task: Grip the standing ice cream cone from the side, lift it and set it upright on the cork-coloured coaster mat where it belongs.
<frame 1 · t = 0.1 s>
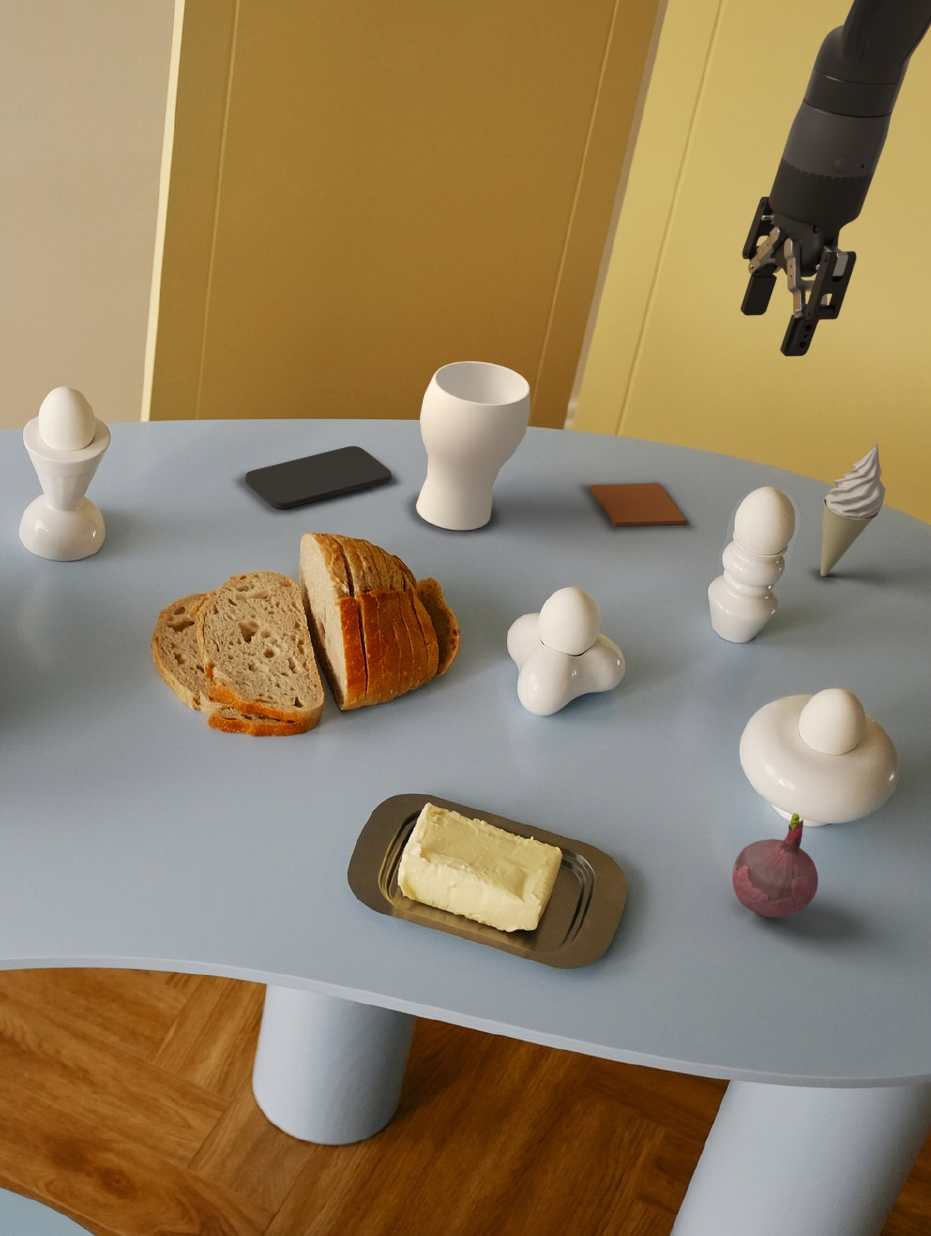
hand: (771, 333, 151), 25 cm above the table, tool pointing down, fingers open, 8 cm apart
vegetable: (758, 914, 129), on the table
cup: (452, 513, 175), on the table
cork mat: (636, 506, 176), on the table
ice cream cone: (822, 576, 166), on the table
phone: (317, 481, 179), on the table
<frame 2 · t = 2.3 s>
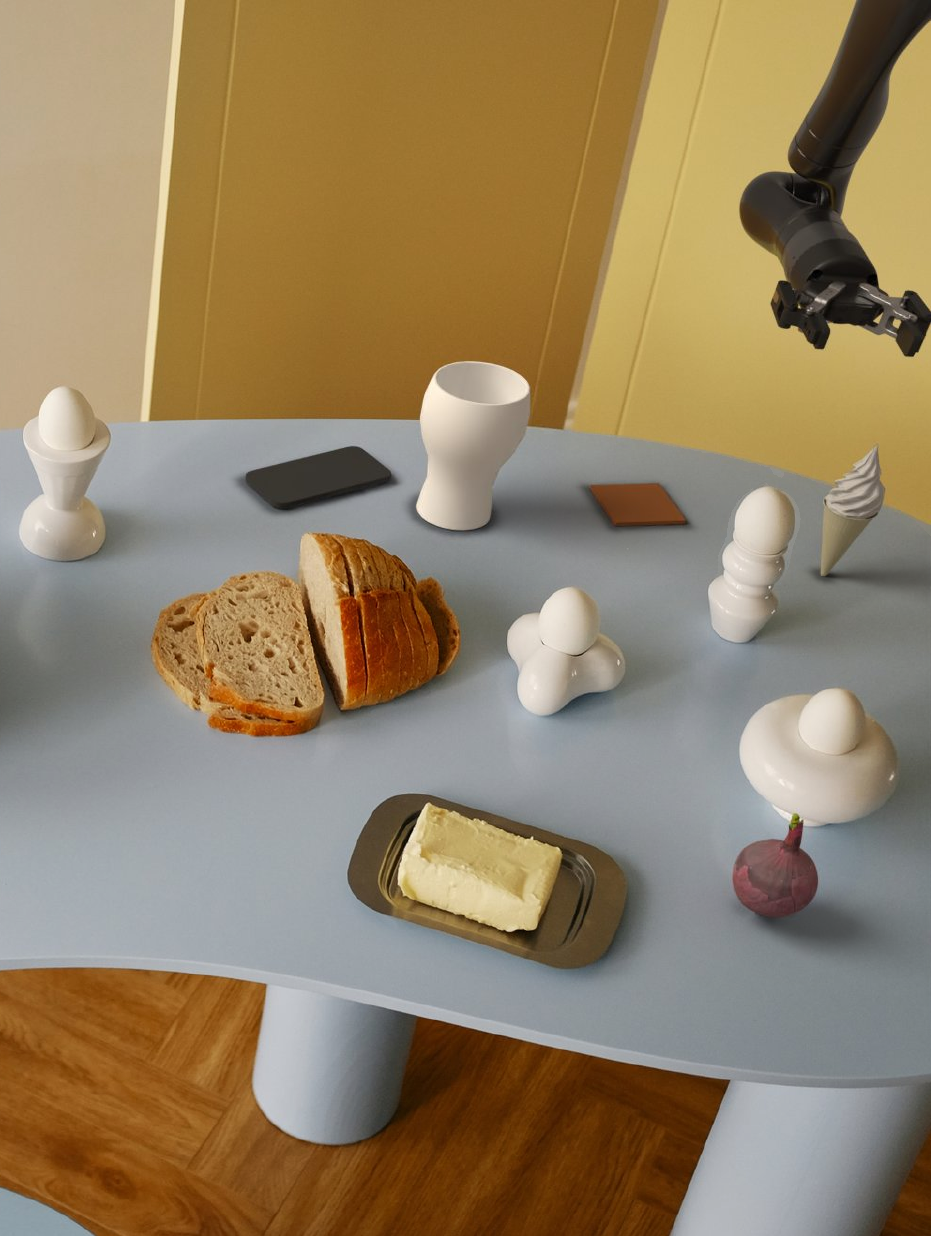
hand: (868, 344, 161), 20 cm above the table, tool horizontal, fingers open, 8 cm apart
nothing on the table moved.
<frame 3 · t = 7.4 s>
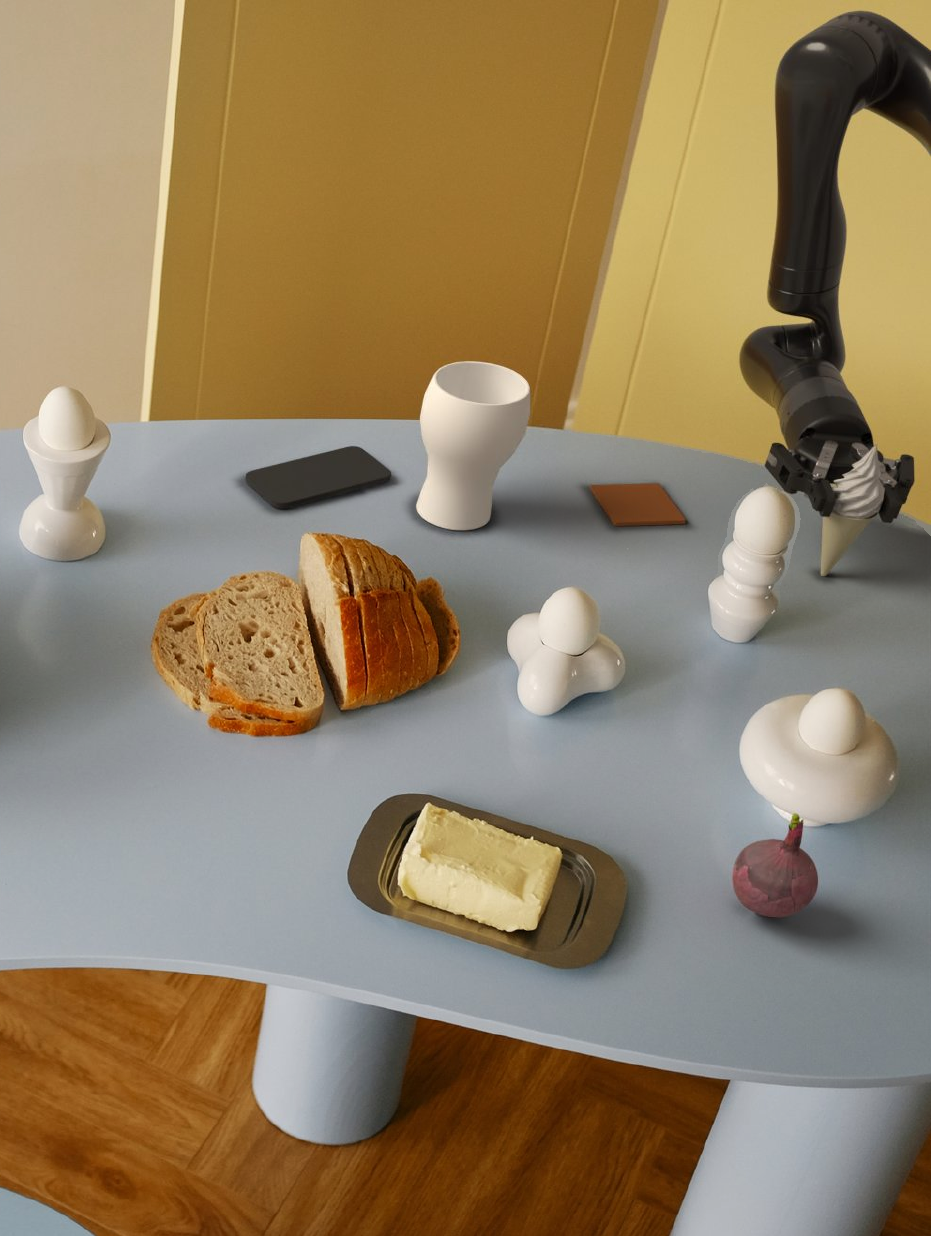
hand: (860, 511, 158), 9 cm above the table, tool horizontal, fingers closed on ice cream cone, 5 cm apart
ice cream cone: (822, 576, 166), on the table, touching gripper
everything else where it was.
when the fingers open (10 cm above the table, at t = 15.5 s): ice cream cone stays where it is, resting on cork mat.
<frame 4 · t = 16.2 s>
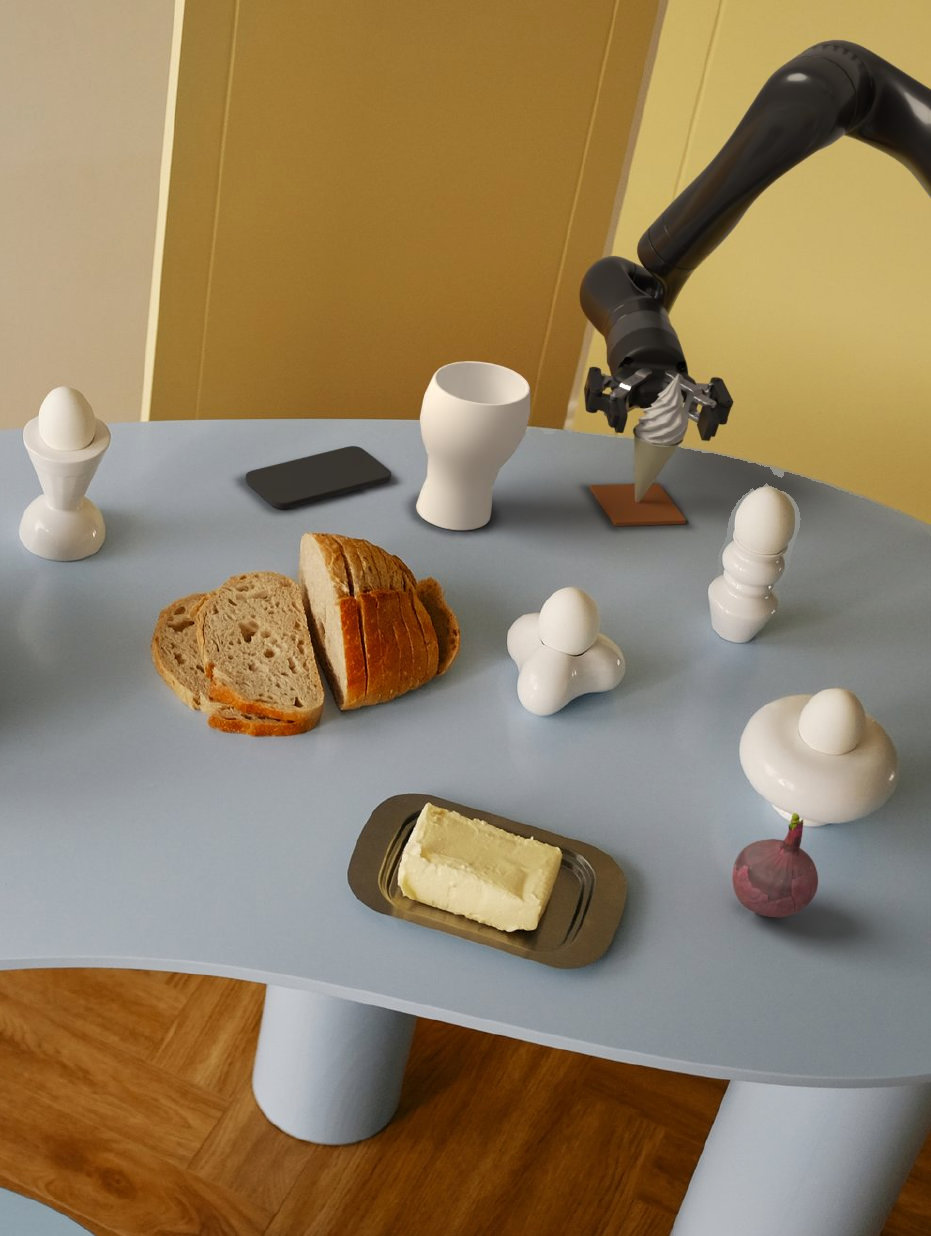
hand: (665, 429, 168), 10 cm above the table, tool horizontal, fingers open, 8 cm apart
ice cream cone: (637, 503, 176), resting on cork mat
everything else where it was.
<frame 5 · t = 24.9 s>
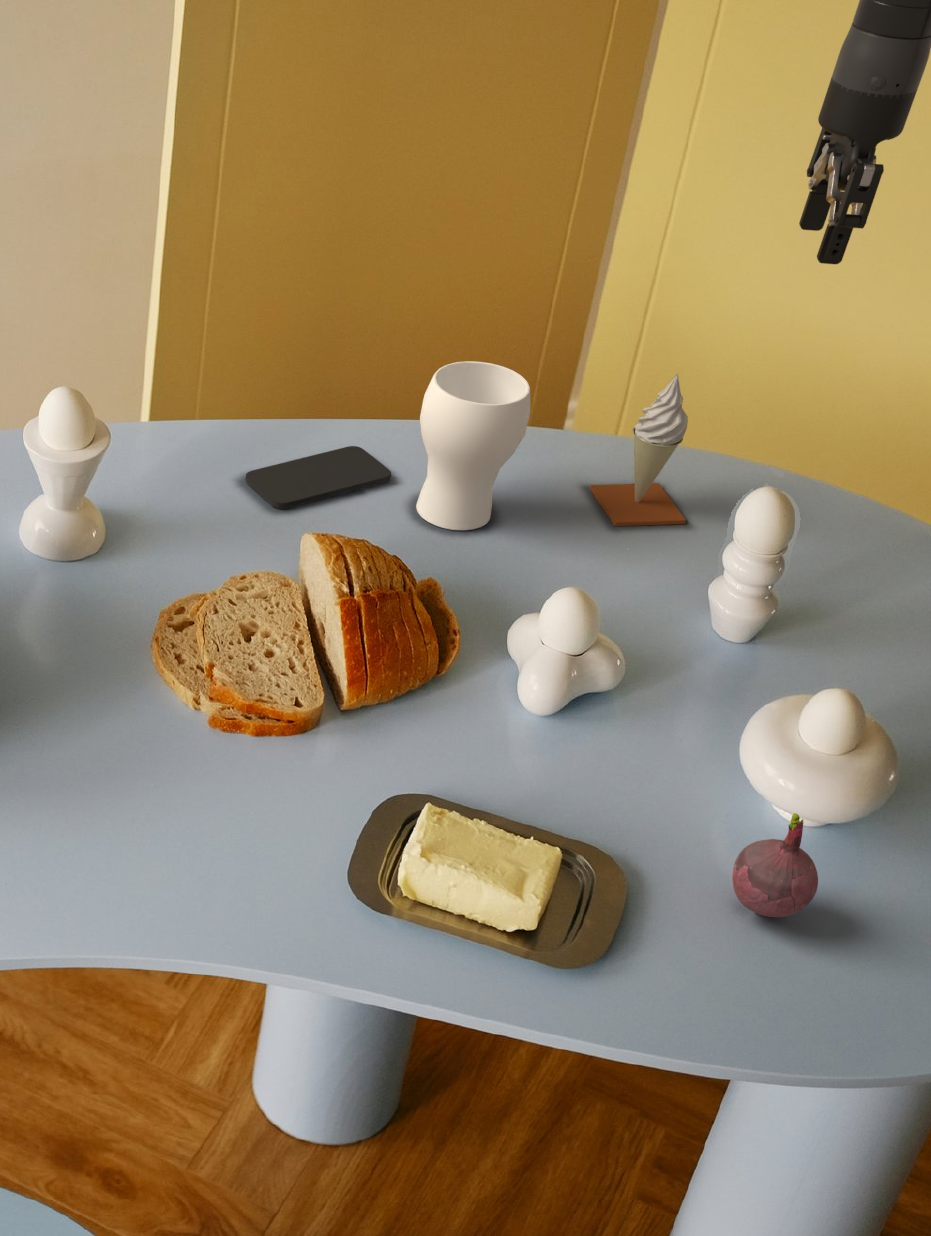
hand: (818, 245, 165), 26 cm above the table, tool pointing down, fingers open, 8 cm apart
nothing on the table moved.
at the end: ice cream cone 0.1 cm off-centre on the cork mat, point 0.3 cm above the cork mat's base; ice cream cone tilted 0°; the gripper is holding nothing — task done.
